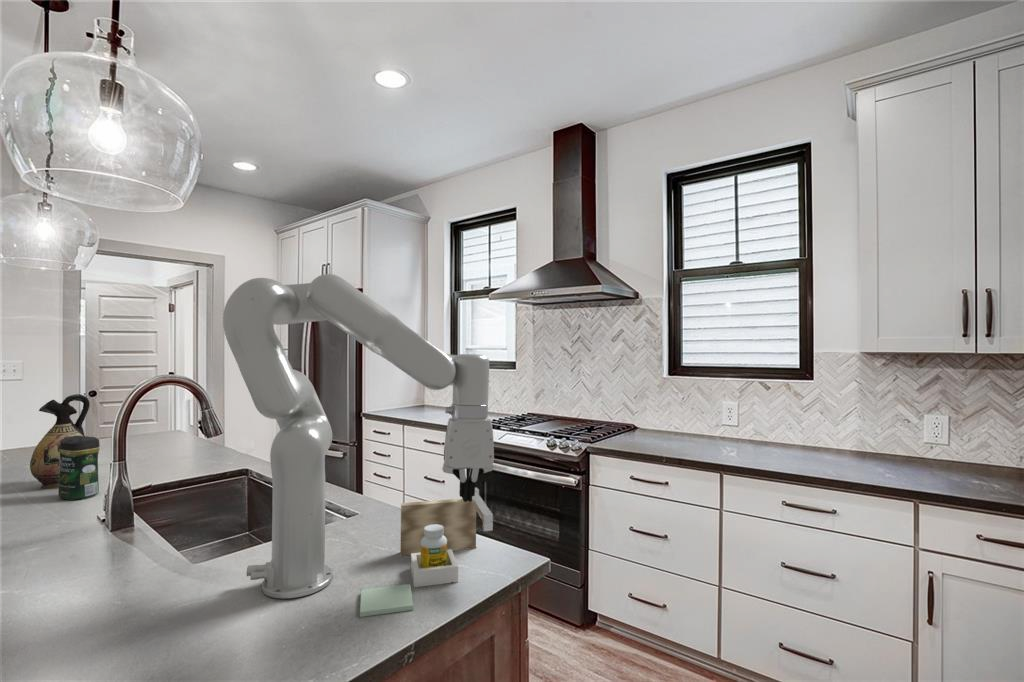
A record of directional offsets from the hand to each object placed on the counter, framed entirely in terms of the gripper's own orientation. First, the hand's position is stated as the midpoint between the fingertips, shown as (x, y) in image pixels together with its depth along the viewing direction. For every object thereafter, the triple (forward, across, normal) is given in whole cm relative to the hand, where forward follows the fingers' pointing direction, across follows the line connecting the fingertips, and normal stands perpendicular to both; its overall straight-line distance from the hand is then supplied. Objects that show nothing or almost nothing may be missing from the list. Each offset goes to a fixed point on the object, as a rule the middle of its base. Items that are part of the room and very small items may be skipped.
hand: (466, 499), depth 102 cm
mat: (+15, -16, -10) cm, 24 cm away
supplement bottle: (+15, -6, -1) cm, 16 cm away
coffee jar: (+18, -106, +78) cm, 132 cm away
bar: (+4, +3, +3) cm, 6 cm away
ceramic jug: (+18, -118, +95) cm, 152 cm away
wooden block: (+14, -4, +11) cm, 19 cm away
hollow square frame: (+15, -6, -1) cm, 16 cm away
